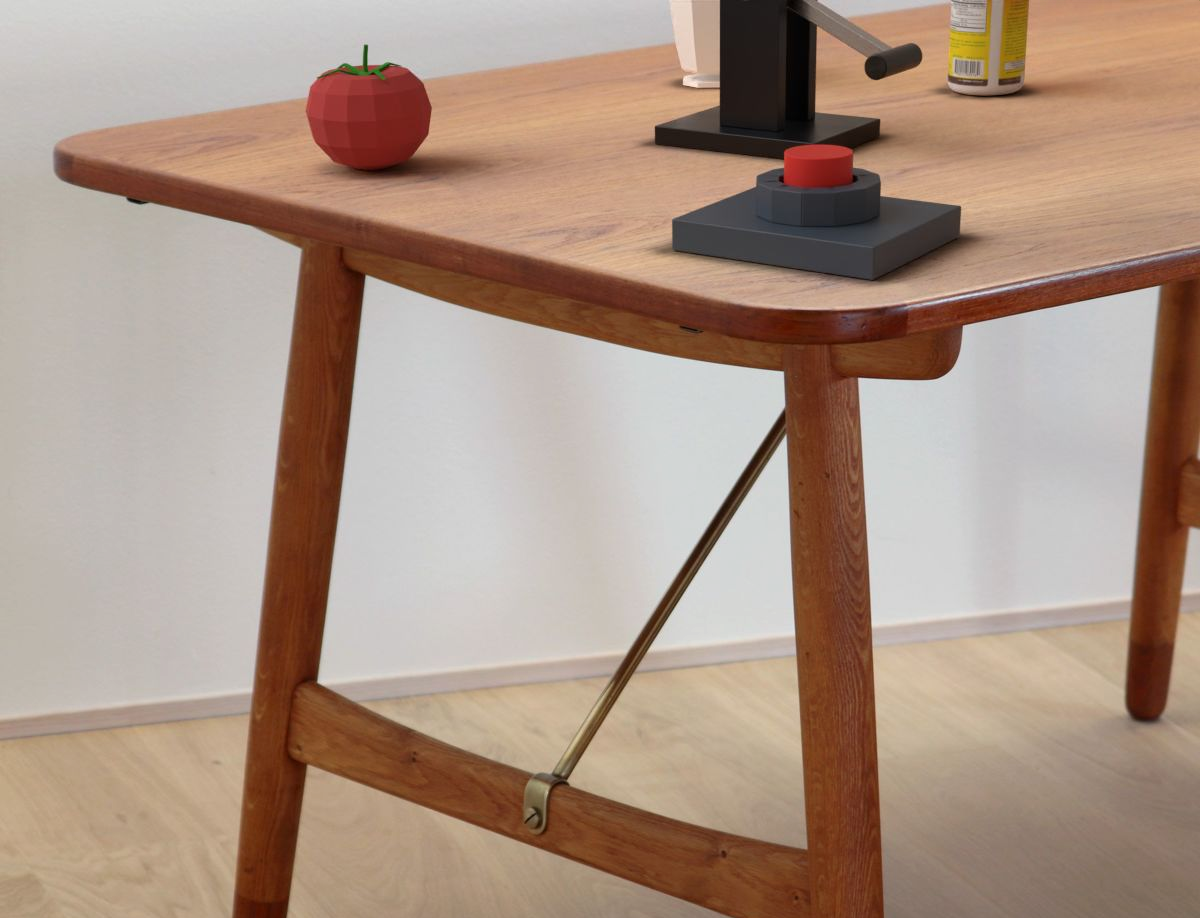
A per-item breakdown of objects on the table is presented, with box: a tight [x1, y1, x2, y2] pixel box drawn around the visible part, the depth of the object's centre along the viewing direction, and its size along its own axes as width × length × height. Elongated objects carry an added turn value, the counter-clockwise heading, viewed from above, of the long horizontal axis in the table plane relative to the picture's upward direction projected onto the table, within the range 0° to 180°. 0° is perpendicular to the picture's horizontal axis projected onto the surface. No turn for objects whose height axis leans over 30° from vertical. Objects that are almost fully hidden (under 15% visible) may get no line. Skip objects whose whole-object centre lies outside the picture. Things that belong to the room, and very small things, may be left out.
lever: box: [787, 0, 923, 81], centre depth 122 cm, size 12×5×2 cm, turn 55°
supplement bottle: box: [947, 0, 1030, 97], centre depth 140 cm, size 6×6×10 cm
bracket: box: [654, 0, 881, 160], centre depth 125 cm, size 12×9×12 cm
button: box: [783, 145, 854, 188], centre depth 101 cm, size 4×4×2 cm
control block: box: [671, 167, 962, 281], centre depth 102 cm, size 12×10×4 cm
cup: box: [668, 0, 720, 89], centre depth 147 cm, size 7×10×8 cm
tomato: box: [305, 43, 433, 171], centre depth 122 cm, size 8×8×8 cm
